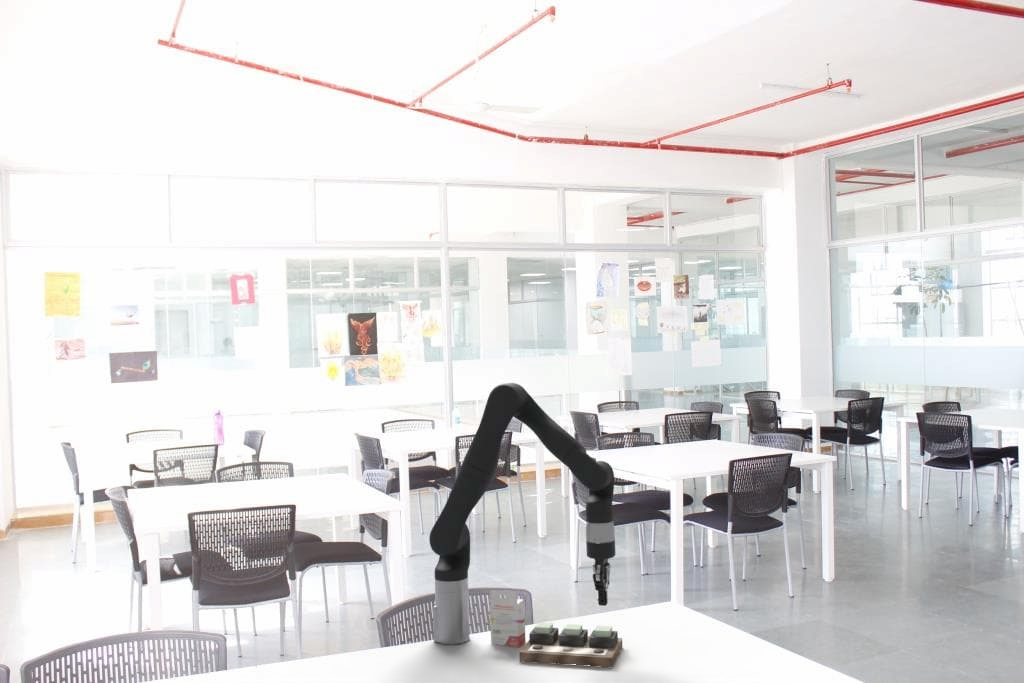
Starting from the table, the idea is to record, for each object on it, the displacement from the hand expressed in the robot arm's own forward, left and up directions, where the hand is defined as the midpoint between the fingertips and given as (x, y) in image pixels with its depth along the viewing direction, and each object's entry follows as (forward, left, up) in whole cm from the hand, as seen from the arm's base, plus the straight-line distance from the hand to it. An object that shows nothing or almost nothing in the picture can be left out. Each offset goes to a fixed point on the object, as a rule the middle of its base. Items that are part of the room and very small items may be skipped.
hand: (603, 604), depth 244 cm
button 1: (-16, 0, -8) cm, 18 cm away
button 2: (0, 0, -8) cm, 8 cm away
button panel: (-8, -2, -13) cm, 15 cm away
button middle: (-8, 0, -8) cm, 12 cm away
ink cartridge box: (-27, +4, -13) cm, 30 cm away
